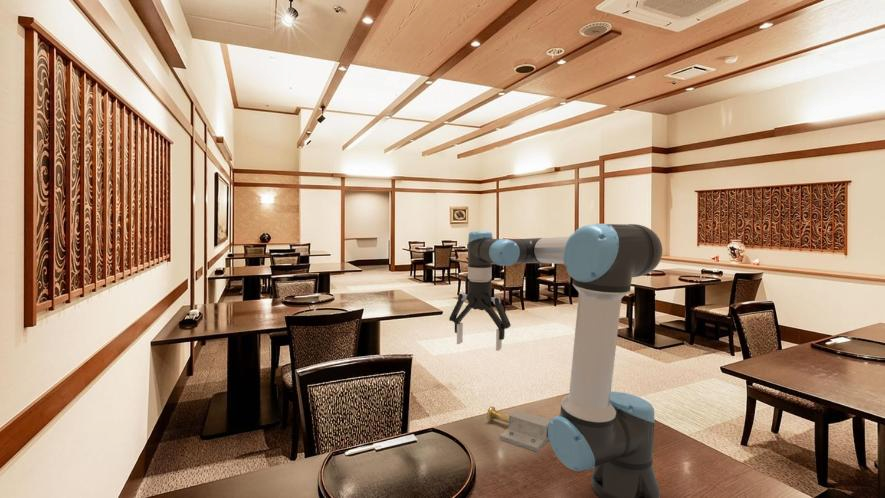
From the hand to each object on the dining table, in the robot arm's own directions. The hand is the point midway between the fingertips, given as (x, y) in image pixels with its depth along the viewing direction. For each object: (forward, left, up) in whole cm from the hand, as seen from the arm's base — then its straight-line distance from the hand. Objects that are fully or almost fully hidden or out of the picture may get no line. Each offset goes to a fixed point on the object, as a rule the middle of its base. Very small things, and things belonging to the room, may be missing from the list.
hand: (478, 346), depth 135 cm
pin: (-10, -3, -25) cm, 27 cm away
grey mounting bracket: (-17, -3, -25) cm, 30 cm away
